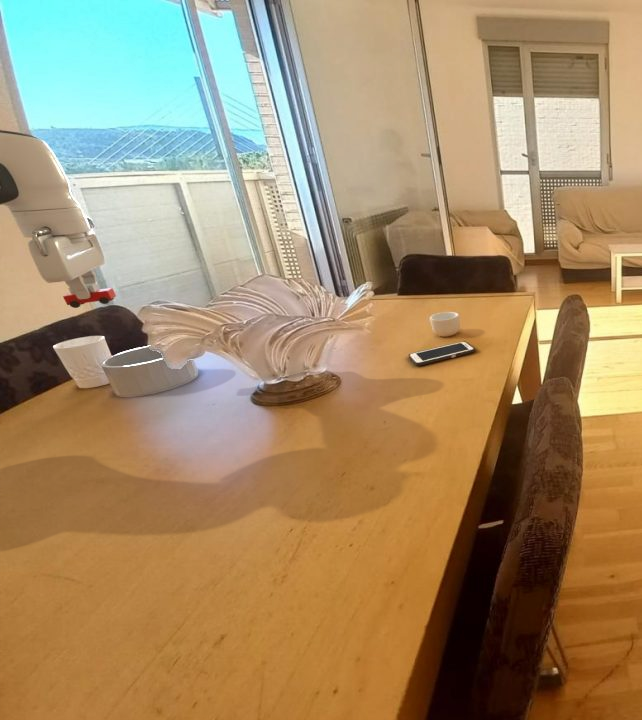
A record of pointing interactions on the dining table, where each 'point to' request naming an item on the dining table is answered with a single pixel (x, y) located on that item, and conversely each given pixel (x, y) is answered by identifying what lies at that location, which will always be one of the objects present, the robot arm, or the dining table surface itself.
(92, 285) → the toy car
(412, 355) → the cell phone
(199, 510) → the dining table surface
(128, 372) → the gray bowl
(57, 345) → the white cup
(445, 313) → the teacup
